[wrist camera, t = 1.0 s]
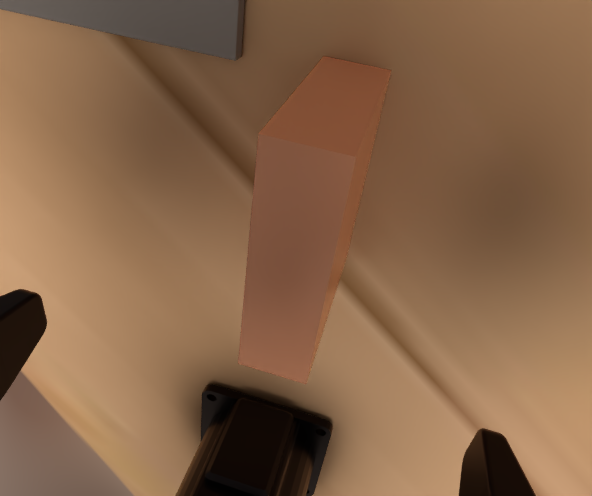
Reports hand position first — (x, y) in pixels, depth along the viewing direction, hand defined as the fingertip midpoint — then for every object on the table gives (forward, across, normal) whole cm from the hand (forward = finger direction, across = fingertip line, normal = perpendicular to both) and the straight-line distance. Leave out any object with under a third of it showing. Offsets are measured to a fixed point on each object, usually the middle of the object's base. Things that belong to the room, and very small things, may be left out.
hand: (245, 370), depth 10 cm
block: (+9, 0, 0) cm, 9 cm away
